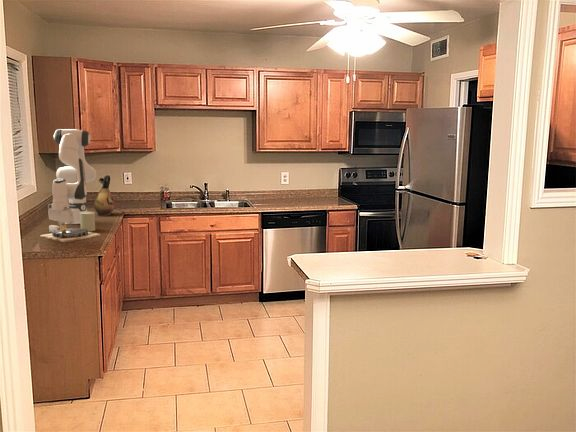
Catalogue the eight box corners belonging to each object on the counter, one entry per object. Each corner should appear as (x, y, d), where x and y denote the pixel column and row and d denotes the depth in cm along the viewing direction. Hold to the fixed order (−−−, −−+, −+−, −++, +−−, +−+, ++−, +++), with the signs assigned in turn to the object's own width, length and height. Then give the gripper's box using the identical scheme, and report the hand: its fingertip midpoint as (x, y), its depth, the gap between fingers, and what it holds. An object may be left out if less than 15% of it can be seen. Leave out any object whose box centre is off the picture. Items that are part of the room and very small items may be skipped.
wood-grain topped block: (49, 231, 344) (48, 225, 343) (53, 231, 347) (53, 224, 346) (54, 233, 341) (54, 226, 340) (59, 232, 343) (58, 226, 343)
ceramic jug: (108, 217, 401) (107, 176, 396) (90, 215, 404) (88, 175, 399) (120, 213, 417) (119, 174, 412) (102, 212, 420) (100, 174, 415)
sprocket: (45, 236, 323) (44, 225, 322) (63, 230, 343) (63, 219, 342) (77, 238, 321) (76, 226, 319) (94, 231, 340) (93, 221, 339)
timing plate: (39, 236, 328) (39, 230, 327) (74, 230, 349) (74, 224, 348) (65, 242, 315) (65, 235, 314) (100, 235, 336) (100, 229, 335)
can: (97, 230, 352) (97, 212, 350) (84, 232, 346) (83, 213, 344) (91, 228, 359) (91, 210, 357) (78, 229, 352) (77, 211, 350)
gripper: (76, 207, 320) (77, 230, 323) (55, 203, 331) (56, 225, 333) (67, 209, 315) (68, 232, 317) (45, 204, 326) (47, 227, 328)
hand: (61, 228), depth 326 cm, fingers closed
